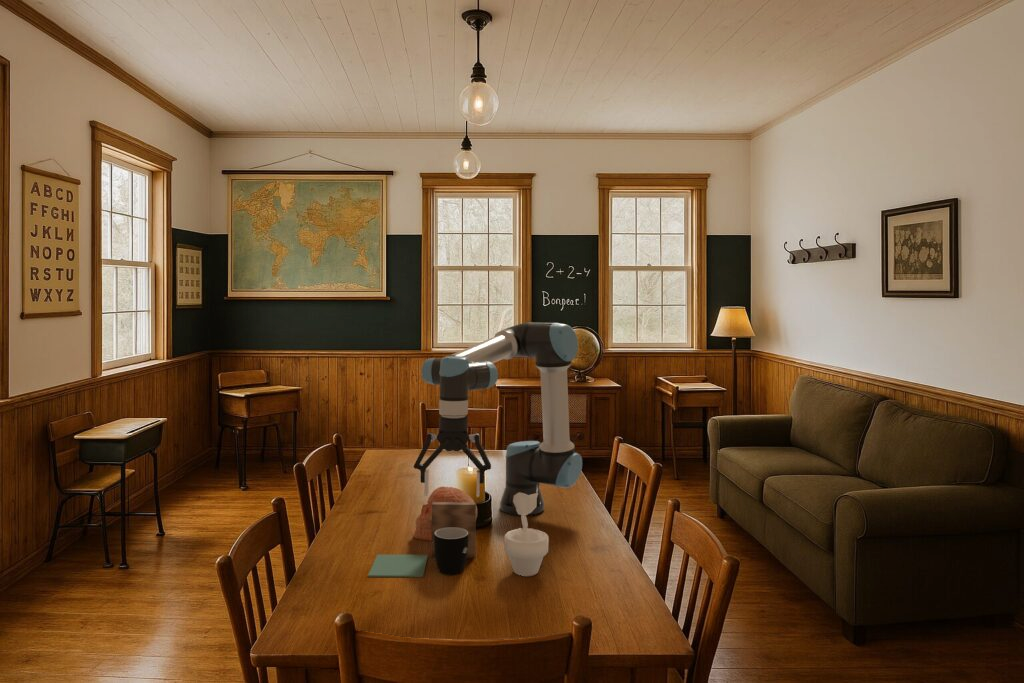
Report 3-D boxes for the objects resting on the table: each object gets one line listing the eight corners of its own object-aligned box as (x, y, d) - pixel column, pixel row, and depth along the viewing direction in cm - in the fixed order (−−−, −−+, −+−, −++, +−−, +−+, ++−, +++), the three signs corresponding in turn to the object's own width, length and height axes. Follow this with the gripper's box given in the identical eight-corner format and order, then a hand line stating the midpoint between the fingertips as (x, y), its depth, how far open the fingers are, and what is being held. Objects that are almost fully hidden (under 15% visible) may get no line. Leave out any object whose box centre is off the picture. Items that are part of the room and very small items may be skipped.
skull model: (430, 524, 212) (431, 477, 211) (484, 533, 205) (485, 484, 204) (405, 540, 197) (406, 489, 197) (463, 550, 191) (463, 497, 190)
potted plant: (534, 585, 168) (536, 487, 166) (495, 574, 174) (497, 480, 172) (557, 568, 178) (559, 476, 177) (520, 559, 184) (522, 470, 183)
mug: (466, 577, 171) (466, 539, 171) (431, 576, 172) (431, 538, 171) (470, 559, 183) (470, 523, 183) (437, 558, 184) (438, 522, 183)
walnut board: (475, 551, 190) (476, 499, 189) (474, 558, 185) (475, 504, 184) (433, 550, 189) (433, 498, 188) (431, 557, 184) (432, 504, 183)
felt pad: (428, 556, 185) (428, 554, 185) (422, 577, 171) (422, 575, 171) (377, 555, 185) (377, 554, 185) (368, 576, 171) (368, 575, 171)
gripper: (500, 413, 179) (499, 491, 180) (407, 412, 178) (406, 490, 180) (501, 418, 172) (499, 499, 173) (403, 417, 171) (402, 498, 172)
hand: (452, 495), depth 176 cm, fingers open, 13 cm apart
